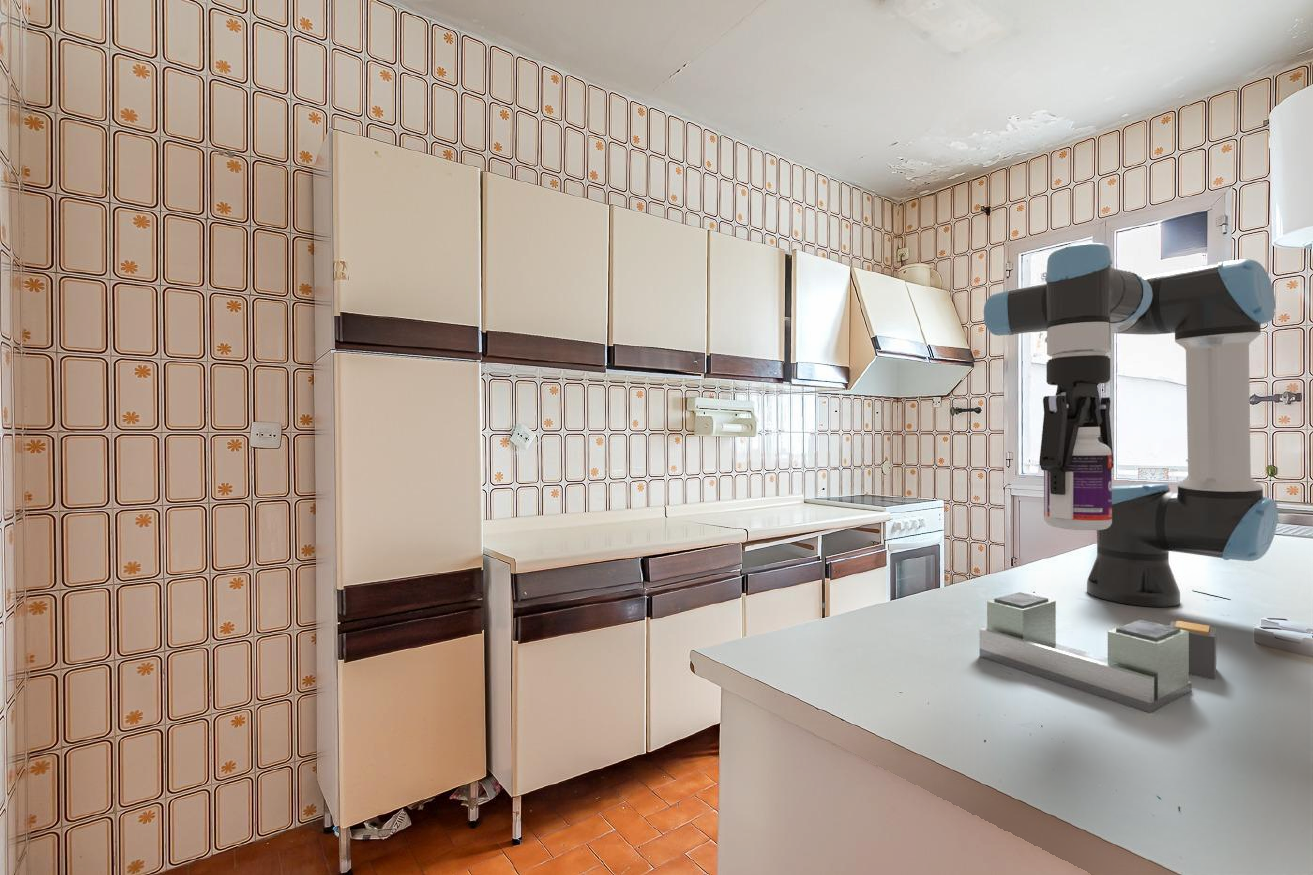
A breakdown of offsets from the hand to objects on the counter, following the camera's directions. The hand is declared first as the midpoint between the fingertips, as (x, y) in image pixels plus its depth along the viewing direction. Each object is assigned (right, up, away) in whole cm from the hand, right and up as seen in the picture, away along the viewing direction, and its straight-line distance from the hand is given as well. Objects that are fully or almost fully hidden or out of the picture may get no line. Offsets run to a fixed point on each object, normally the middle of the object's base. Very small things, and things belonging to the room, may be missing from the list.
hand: (1077, 515), depth 87 cm
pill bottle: (0, -2, 0) cm, 2 cm away
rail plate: (0, -23, 0) cm, 23 cm away
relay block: (+17, -23, +1) cm, 28 cm away
